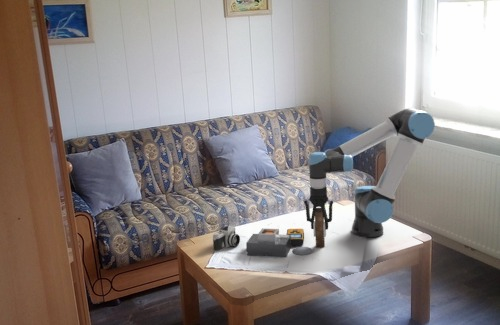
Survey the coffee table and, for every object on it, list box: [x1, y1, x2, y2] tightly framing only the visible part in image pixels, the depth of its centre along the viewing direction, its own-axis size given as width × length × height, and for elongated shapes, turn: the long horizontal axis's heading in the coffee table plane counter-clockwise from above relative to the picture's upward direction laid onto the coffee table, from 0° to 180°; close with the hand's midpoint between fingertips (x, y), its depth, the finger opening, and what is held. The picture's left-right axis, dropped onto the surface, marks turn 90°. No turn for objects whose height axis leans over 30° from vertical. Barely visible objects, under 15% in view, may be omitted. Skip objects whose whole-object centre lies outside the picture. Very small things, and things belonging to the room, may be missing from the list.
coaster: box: [292, 246, 314, 256], centre depth 239 cm, size 9×9×1 cm
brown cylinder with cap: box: [314, 207, 326, 249], centre depth 242 cm, size 4×4×18 cm
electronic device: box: [286, 228, 305, 247], centre depth 253 cm, size 8×16×3 cm, turn 175°
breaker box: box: [245, 228, 292, 258], centre depth 241 cm, size 18×12×10 cm, turn 74°
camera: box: [212, 225, 241, 253], centre depth 250 cm, size 16×9×10 cm, turn 147°
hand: (319, 235), depth 243 cm, fingers closed on brown cylinder with cap, 4 cm apart
